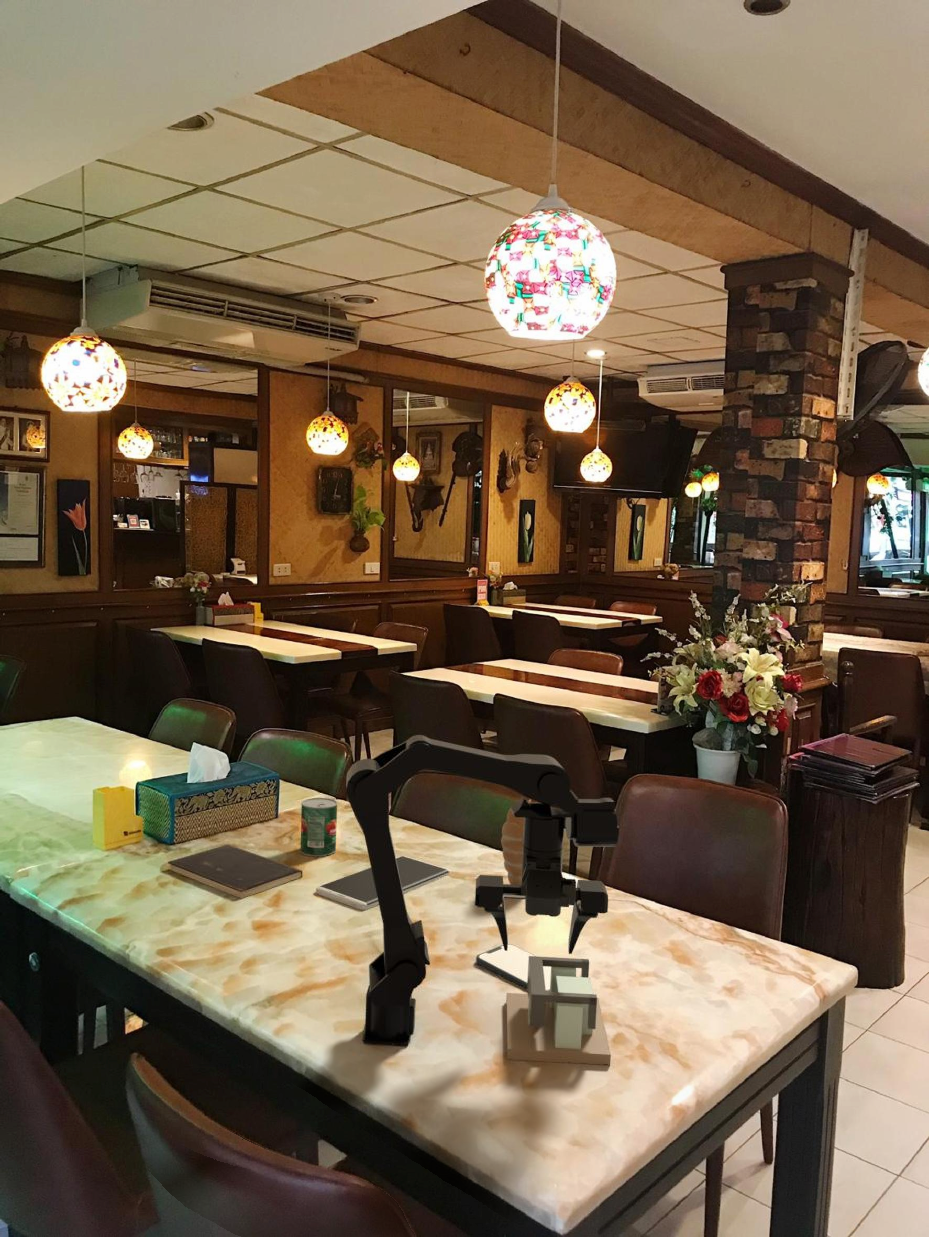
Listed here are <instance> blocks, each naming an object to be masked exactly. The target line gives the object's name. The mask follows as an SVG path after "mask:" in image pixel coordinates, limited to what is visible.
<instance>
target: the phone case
mask: <svg viewBox="0 0 929 1237" xmlns="http://www.w3.org/2000/svg"><path fill="white" fill-rule="evenodd" d="M529 956H536V955H535V954H532V953H530V952H528V951H527V950H525V949H522V948H521V947H519V946H516V945H514V944H511V943H508V949H507V951H505V950H504V946H503V944H502V945H499V946H497V947H494V948H492V949H489V950H486V951H484V952H482V953H478V954H477V955H476V957H475V965H477V966H479V967H480V968H482V969H484V970H486V971H488V972H491V973H492V974H494V975H496V976H498V977H500V978H502V979H504V980H506V981H508V982H510V983H512V984H514V985H516V986H518V987H519V988H521V989H524V990H526V991H528V988H527V980H528V959H529ZM543 971H544V980H545V989H546V992H550V979H551V967H549V966H543Z"/></svg>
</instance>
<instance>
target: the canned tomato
mask: <svg viewBox="0 0 929 1237" xmlns="http://www.w3.org/2000/svg"><path fill="white" fill-rule="evenodd" d="M300 805H301V810H300V811H301V814H300V815H301V816H300V819H301V820H300V849H299V851H300V852H299V853H301V855H304V856H307V857H312V856H313V858H316V857H317V856H319V857H317V858H320V857H321V856H323V857H328V856H327V855H329V856H332V855H333V853H334V854H335V853H336V852H337V848H336V847H337V830H338V828H337V823H338V822H337V819H338V801H337V800H335V799H332V798H327V797H311V798H307V799H304V800H302V801H301V804H300ZM331 854H332V855H331ZM314 856H315V857H314Z"/></svg>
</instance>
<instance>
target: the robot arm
mask: <svg viewBox="0 0 929 1237" xmlns="http://www.w3.org/2000/svg"><path fill="white" fill-rule="evenodd" d="M423 769H425V770H430V771H435V772H440V773H444V774H449V775H454V776H458V777H463V778H468V779H470V780H471V779H472V780H477V781H481V782H487V783H491V784H494V785H495V784H496V785H500V786H502V787H505V788H508V789H510V790H511V791H513V792H516V793H517V794H519V795H522V796H521V797H520V799H519V800H518V801H516V802H515V803H514V804H512V805H511V806H510V809H511V811H512V813H513V815H514V816H515V817H524V833H523V855H522V877H521V885H511V884H510V883H509V884H505V883H504V875H491V874H490V875H488V874H479V875H478V876H477V878H476V879H475V892H474V893H475V895H474V897H475V898H474V906H475V907H478V908H483V912H485V913H489V914H491V915H492V917H493V918H494V920H495V923H496V926H497V929H498V932H499V935H500V940H501V941H502V942H501V943H502V945H503V946H504V950H505V951H507V949H508V944H509V936H508V934H509V933H508V925H507V914H506V901H505V899H510V900H511V899H514V900H515V899H516V900H524V904H525V905H524V906H525V907H524V908H525V909H524V911H525V913H526V914H527V915H529V916H531V917H535V916H536V917H537V916H549V917H553V918H555V917H559V916H560V915H561V911H562V908H570V906H572V914H571V921H570V928H569V934H568V943H567V944H568V945H567V946H568V950H567V952H568V954H569V955H572V954H573V951H574V949H575V946H576V944H577V941H578V940H579V937H580V934H581V932H582V930H583V929H584V926H585V925H586V924H587V922H588V921H589V920H591V919H596V918H598V916H599V914H607V913H608V912H609V909H608V908H609V894H608V891H607V888H606V885H605V884H604V883H603V882H602V880H589V879H578V880H577V883H576V879H575V878H566V877H563V874H562V873H563V858H564V856H563V854H564V836H565V835H564V833H565V834H566V839H567V840H572V843H573V845H574V846H575V847H578V848H579V847H581V848H582V847H584V848H585V847H586V848H587V847H589V848H590V847H591V848H592V847H596V848H597V847H599V848H601V847H605V848H607V847H608V848H609V847H613V848H615V847H616V846H617V844H618V841H619V836H620V835H619V833H620V827H619V826H618V818H617V817H618V816H617V813H616V809H615V808H616V803H615V801H614V800H613V798H611V797H601V798H600V797H599V798H597V799H595V798H578V797H577V795H576V794H575V793H574V792H573V791H572V789H570V785H571V782H570V781H571V780H570V777H569V774H568V772H567V771H566V770H565V768H564V767H563V766H562V765H561V763H559V762H558V761H557V759H555V758H554V757H552V756H550V755H547V754H536V753H535V754H534V753H533V754H532V753H531V754H530V753H520V754H501V753H497V752H491V751H487V750H483V749H478V748H473V747H470V746H469V747H468V746H465V745H459V744H456V743H451V742H448V741H447V742H445V741H441V740H438V739H432V738H429V737H427V736H426V735H422V734H417V735H413V736H411V737H409V738H408V739H407V740H405V741H404V742H402V743H401V744H398V745H396V746H394V747H392V748H389V749H386V750H384V751H383V752H381V753H380V754H378V755H376V756H375V757H373V758H363V759H360V760H357V761H356V762H354V763H353V764H352V765H351V766H350V767H349V769H348V771H347V773H346V789H345V790H346V793H345V794H346V797H347V801H348V802H349V805H350V808H351V809H352V812H353V814H354V817H355V818H356V821H357V823H358V825H359V827H360V829H361V831H362V833H363V836H364V840H365V846H366V850H367V855H368V859H369V864H370V868H371V869H372V874H373V879H374V884H375V888H376V893H377V898H378V902H379V905H378V906H379V911H380V916H381V922H382V935H383V936H382V938H383V940H382V941H383V951H382V952H381V953H380V954H379V955H378V956H377V957H376V958H375V959H374V960H373V961H371V963H369V965H368V977H369V980H368V981H369V982H368V984H369V985H368V988H367V990H366V995H365V1020H364V1021H365V1022H364V1023H365V1024H364V1031H363V1032H364V1033H363V1036H362V1043H365V1044H375V1045H377V1044H378V1045H393V1046H395V1045H396V1046H408V1045H409V1044H410V1039H411V1036H413V1034H414V1032H415V1026H416V1006H417V1004H416V1001H417V1000H416V999H415V997H413V992H414V989H416V988H418V987H419V986H420V985H421V984H422V983H423V981H424V980H425V979H426V977H427V966H430V965H431V961H430V954H429V949H428V945H427V944H428V943H427V942H426V940H425V933H424V928H423V922H422V920H421V919H420V920H417V921H415V922H413V921H412V919H411V917H410V915H409V912H408V909H407V905H406V904H407V903H406V899H405V894H403V890H402V885H401V880H400V875H399V870H398V866H397V861H396V858H397V855H396V853H395V851H396V850H395V846H394V843H393V837H392V833H391V828H390V797H389V796H390V794H391V793H392V792H394V791H397V790H398V789H399V788H400V787H401V786H402V785H404V784H405V783H406V782H407V781H408V780H410V779H411V778H412V777H413V776H415V775H416V774H417V773H419V772H420V771H422V770H423ZM526 798H528V799H529V800H530V799H531V800H533V801H535V802H533V801H531V802H528V801H529V800H527V799H526ZM552 805H556V807H552ZM510 809H509V810H510ZM564 829H565V830H564ZM426 965H427V966H426Z"/></svg>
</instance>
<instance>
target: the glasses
mask: <svg viewBox="0 0 929 1237" xmlns="http://www.w3.org/2000/svg"><path fill="white" fill-rule="evenodd" d="M543 966H549V967H567V968H576V969H581V971H580V977H586V978H589V972H590V971H589V970H590V960H589V959H588V958H571V957H556V956H555V957H554V956H537V955H535V956H529V959H528V980H527V988H528V990H527V994H528V998H529V1000H530V1003H529V1017H530V1026H545V1008H546V1002H553V1003H572V1004H589V1005H588V1023H587V1026H588V1029H595V1027H596V1009H597V998H598V996H597V994H595V993H594V994H579V993H561V992H546V989H545V980H544V971H543Z"/></svg>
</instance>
